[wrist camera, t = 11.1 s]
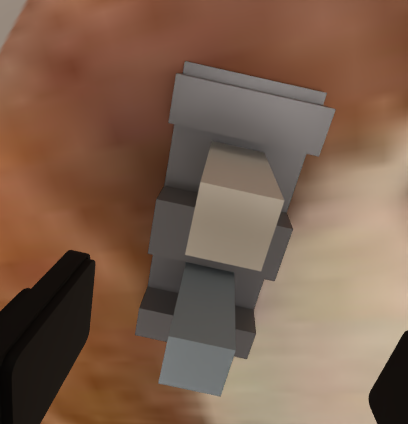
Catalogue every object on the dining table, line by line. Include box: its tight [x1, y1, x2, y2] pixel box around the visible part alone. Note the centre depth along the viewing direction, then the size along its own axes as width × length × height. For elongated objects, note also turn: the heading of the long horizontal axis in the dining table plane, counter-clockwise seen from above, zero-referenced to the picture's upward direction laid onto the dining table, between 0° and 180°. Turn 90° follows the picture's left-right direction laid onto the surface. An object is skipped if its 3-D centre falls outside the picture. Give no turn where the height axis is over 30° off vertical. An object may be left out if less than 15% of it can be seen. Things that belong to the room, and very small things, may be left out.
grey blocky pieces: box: [135, 61, 336, 359], centre depth 26 cm, size 23×10×4 cm, turn 168°
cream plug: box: [185, 141, 284, 271], centre depth 20 cm, size 4×4×10 cm
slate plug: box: [159, 262, 236, 396], centre depth 24 cm, size 4×4×10 cm
